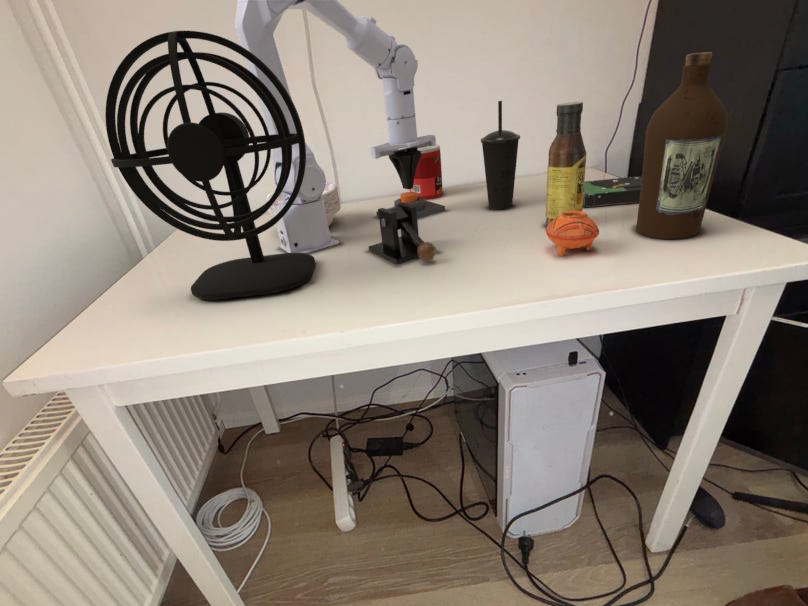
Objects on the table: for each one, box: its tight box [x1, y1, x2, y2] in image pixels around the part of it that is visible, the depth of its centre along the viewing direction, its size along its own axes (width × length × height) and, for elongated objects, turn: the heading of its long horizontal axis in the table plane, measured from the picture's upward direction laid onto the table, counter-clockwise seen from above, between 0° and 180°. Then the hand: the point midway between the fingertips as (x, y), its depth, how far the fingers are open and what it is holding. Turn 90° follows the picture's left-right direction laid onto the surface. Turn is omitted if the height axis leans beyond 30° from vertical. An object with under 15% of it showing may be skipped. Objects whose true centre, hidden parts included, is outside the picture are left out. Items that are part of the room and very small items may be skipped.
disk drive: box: [582, 175, 642, 208], centre depth 98 cm, size 10×3×15 cm
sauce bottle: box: [545, 101, 587, 227], centre depth 83 cm, size 7×6×20 cm
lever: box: [389, 207, 437, 262], centre depth 81 cm, size 12×3×3 cm, turn 31°
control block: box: [375, 196, 446, 220], centre depth 105 cm, size 12×9×3 cm
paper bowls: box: [264, 182, 341, 227], centre depth 103 cm, size 15×15×8 cm
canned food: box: [409, 144, 444, 201], centre depth 115 cm, size 8×8×11 cm
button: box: [399, 191, 418, 203], centre depth 104 cm, size 4×4×2 cm
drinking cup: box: [480, 100, 521, 211], centre depth 97 cm, size 8×8×20 cm
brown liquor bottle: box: [635, 51, 729, 240], centre depth 74 cm, size 11×11×25 cm
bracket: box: [368, 203, 437, 265], centre depth 84 cm, size 10×8×8 cm
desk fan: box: [104, 30, 316, 301], centre depth 72 cm, size 27×18×35 cm, turn 92°
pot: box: [545, 211, 600, 257], centre depth 76 cm, size 8×8×7 cm
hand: (408, 188), depth 103 cm, fingers closed
